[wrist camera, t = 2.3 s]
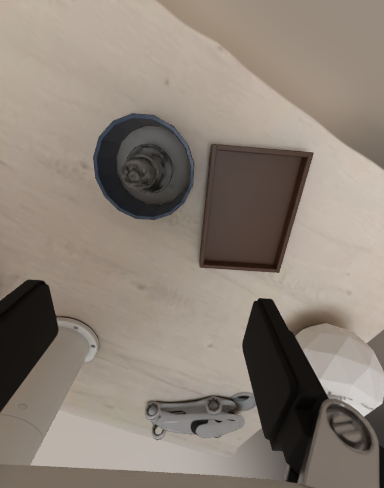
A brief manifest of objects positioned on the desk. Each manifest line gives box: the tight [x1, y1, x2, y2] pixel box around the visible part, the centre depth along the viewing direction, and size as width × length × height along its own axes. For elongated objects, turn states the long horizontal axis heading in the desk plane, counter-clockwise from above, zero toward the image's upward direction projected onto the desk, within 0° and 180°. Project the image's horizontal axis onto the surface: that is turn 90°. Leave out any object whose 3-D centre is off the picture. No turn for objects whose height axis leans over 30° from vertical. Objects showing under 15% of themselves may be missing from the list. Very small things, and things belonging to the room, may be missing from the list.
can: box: [93, 113, 194, 220], centre depth 26 cm, size 11×11×6 cm
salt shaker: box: [121, 144, 172, 194], centre depth 24 cm, size 6×6×12 cm
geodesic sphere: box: [295, 323, 384, 417], centre depth 36 cm, size 15×14×14 cm
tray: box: [199, 144, 314, 273], centre depth 31 cm, size 13×18×2 cm
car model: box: [145, 396, 244, 440], centre depth 51 cm, size 11×24×5 cm, turn 96°
